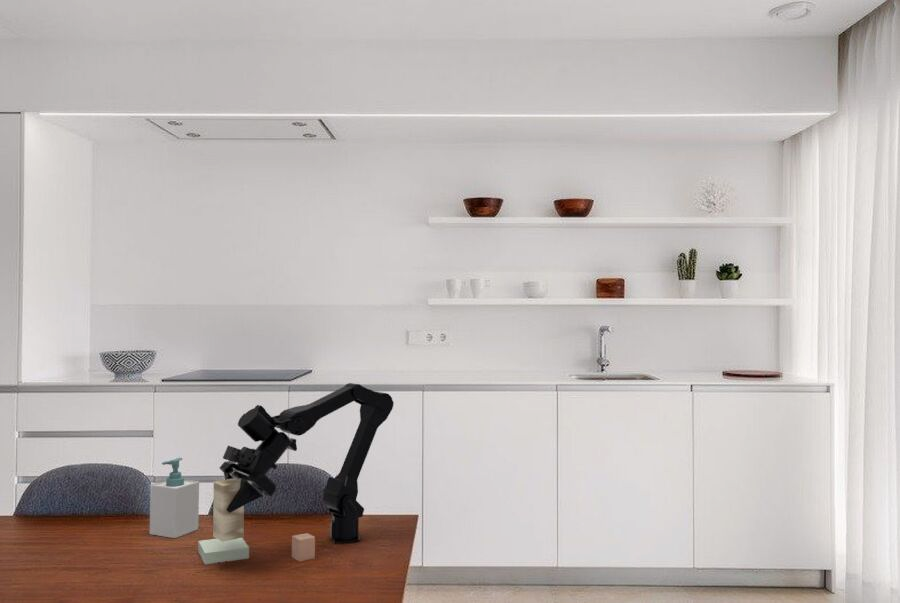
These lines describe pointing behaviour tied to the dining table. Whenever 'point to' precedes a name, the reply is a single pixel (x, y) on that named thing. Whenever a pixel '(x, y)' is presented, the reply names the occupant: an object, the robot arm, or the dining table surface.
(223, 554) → the sage block
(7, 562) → the dining table surface
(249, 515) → the dining table surface
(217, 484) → the birch pillar
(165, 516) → the soap bottle
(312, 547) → the pinkish beige block
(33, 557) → the dining table surface
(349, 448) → the robot arm
